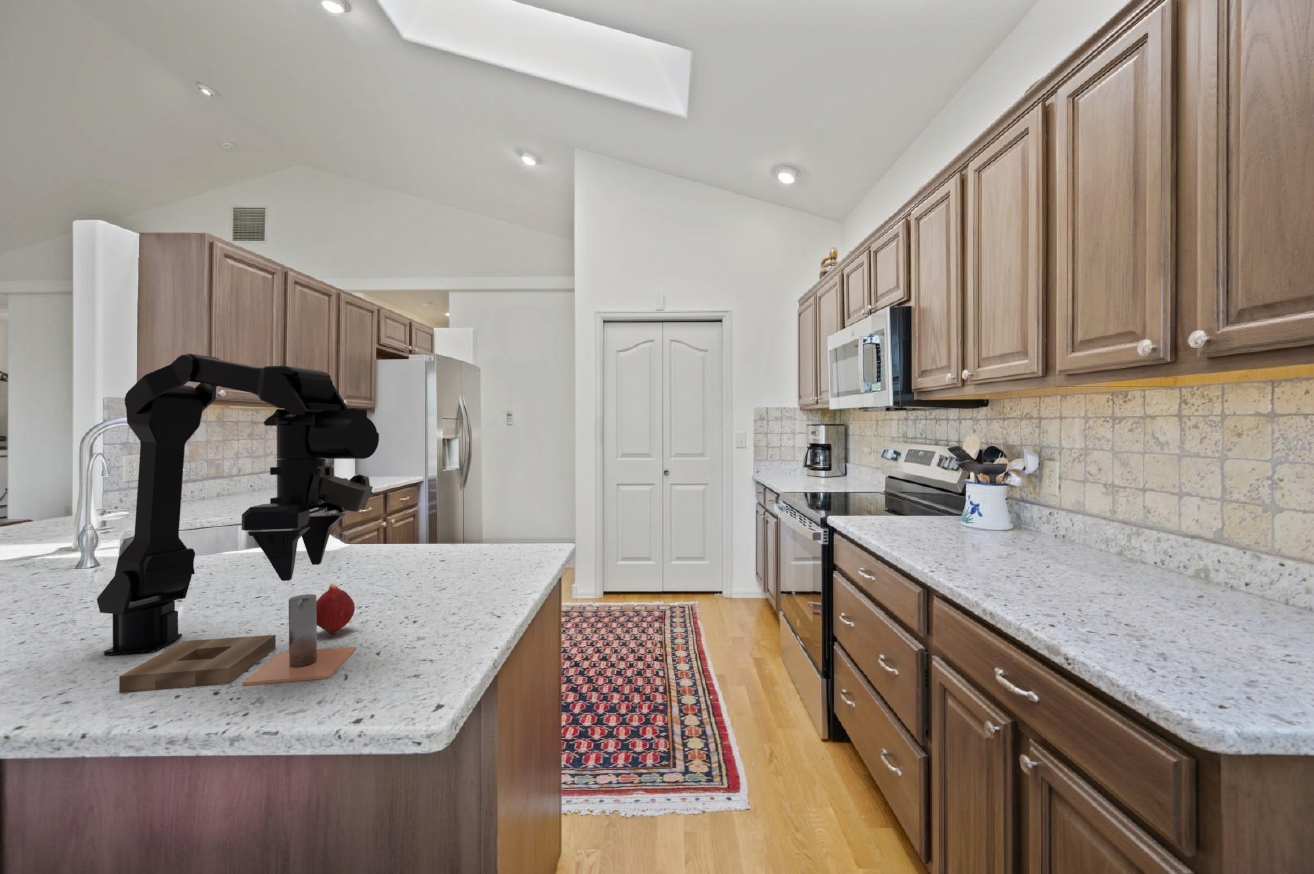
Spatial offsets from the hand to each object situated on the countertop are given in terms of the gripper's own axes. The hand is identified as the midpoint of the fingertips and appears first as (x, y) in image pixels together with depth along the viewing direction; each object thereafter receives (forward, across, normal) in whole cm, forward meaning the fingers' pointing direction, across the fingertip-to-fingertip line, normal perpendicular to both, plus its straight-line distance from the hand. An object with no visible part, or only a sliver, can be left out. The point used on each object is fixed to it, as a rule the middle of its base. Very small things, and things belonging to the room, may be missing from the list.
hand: (302, 571), depth 75 cm
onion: (+13, +13, +1) cm, 18 cm away
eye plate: (+13, +2, +13) cm, 18 cm away
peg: (+12, 0, 0) cm, 13 cm away
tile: (+13, 0, 0) cm, 13 cm away
